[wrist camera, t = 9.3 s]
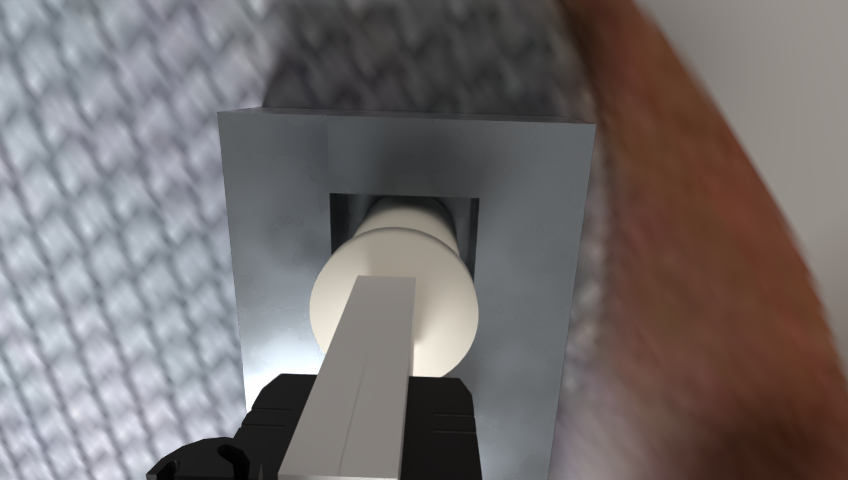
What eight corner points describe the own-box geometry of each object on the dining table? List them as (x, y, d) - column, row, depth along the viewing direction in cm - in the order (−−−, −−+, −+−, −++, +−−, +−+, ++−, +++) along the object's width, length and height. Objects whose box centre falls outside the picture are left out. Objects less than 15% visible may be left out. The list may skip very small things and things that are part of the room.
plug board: (297, 608, 28) (275, 692, 24) (261, 106, 19) (216, 111, 15) (505, 618, 27) (516, 704, 24) (564, 116, 19) (596, 124, 15)
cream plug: (352, 289, 20) (312, 385, 14) (350, 182, 19) (305, 232, 12) (461, 293, 20) (473, 392, 14) (467, 185, 19) (484, 238, 12)
